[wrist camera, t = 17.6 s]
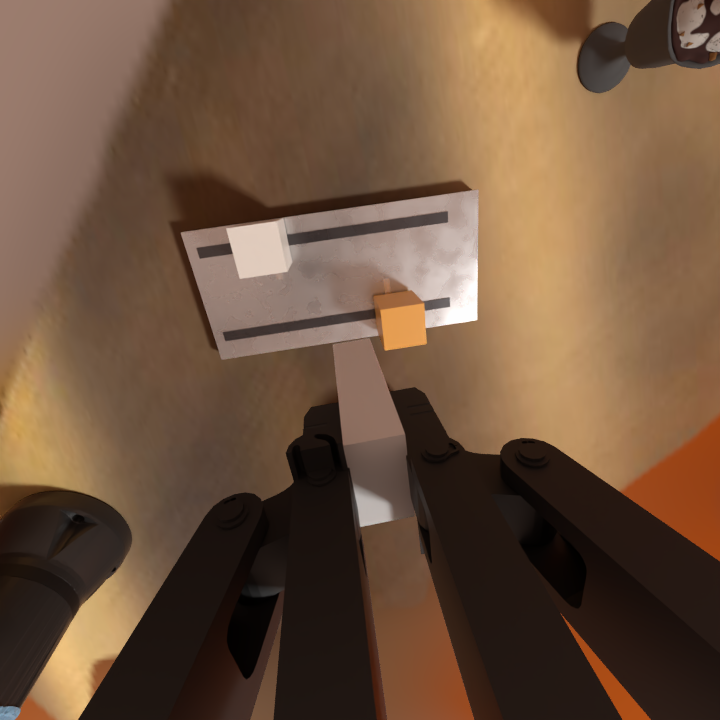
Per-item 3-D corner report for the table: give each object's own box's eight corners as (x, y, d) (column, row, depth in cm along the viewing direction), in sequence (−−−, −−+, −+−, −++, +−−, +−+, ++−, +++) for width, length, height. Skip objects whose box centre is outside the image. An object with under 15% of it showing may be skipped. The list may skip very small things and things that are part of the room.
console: (225, 354, 40) (221, 360, 38) (186, 231, 34) (180, 232, 33) (471, 315, 41) (477, 320, 39) (472, 189, 35) (478, 189, 34)
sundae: (638, 93, 33) (859, 21, 19) (567, 112, 33) (737, 52, 19) (647, 0, 30) (911, -161, 17) (569, 20, 30) (768, -124, 17)
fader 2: (377, 332, 38) (384, 350, 34) (373, 296, 37) (380, 310, 32) (414, 326, 38) (426, 344, 34) (411, 290, 37) (424, 303, 32)
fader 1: (250, 268, 34) (239, 278, 30) (239, 224, 33) (226, 228, 28) (292, 262, 34) (287, 271, 30) (283, 217, 33) (276, 221, 28)
